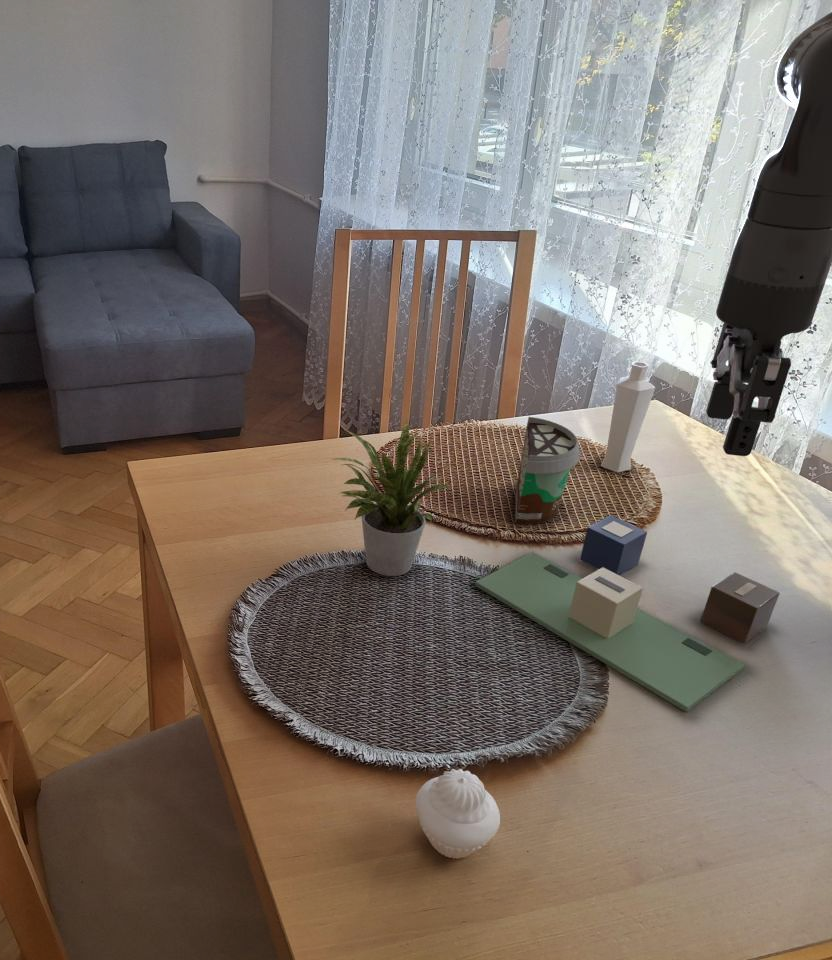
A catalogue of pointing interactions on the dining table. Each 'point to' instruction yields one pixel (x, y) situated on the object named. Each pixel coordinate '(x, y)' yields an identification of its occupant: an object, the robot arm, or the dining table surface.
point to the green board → (632, 651)
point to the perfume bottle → (627, 417)
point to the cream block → (605, 602)
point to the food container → (544, 470)
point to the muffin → (457, 813)
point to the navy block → (613, 545)
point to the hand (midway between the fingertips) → (726, 434)
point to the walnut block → (739, 607)
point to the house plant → (391, 507)
